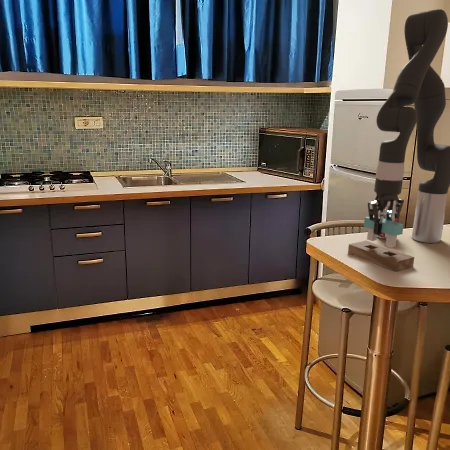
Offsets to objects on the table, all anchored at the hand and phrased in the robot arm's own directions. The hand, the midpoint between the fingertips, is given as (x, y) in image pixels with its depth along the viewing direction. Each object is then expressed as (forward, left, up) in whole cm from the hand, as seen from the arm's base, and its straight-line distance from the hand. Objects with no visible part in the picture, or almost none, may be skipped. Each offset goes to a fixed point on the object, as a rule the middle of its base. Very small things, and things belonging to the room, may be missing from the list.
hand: (382, 233), depth 135 cm
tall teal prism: (0, 0, -3) cm, 3 cm away
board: (0, 0, -8) cm, 8 cm away
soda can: (-21, -14, -9) cm, 27 cm away
